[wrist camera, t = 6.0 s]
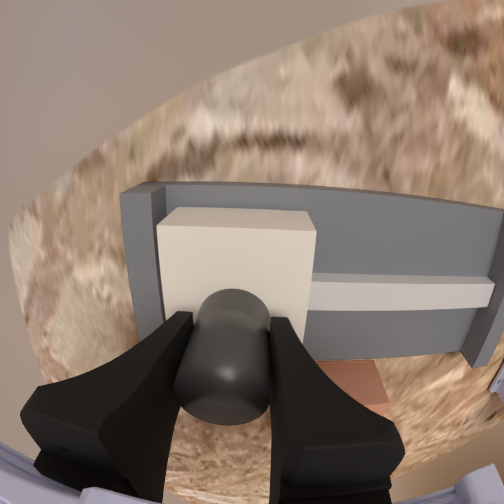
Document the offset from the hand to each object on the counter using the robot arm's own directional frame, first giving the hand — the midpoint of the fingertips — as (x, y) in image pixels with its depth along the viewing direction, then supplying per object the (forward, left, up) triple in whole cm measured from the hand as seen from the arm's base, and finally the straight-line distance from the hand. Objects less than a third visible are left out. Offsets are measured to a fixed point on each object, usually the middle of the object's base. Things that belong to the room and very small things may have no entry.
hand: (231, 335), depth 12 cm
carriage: (0, 0, -4) cm, 4 cm away
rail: (0, -6, -5) cm, 8 cm away
